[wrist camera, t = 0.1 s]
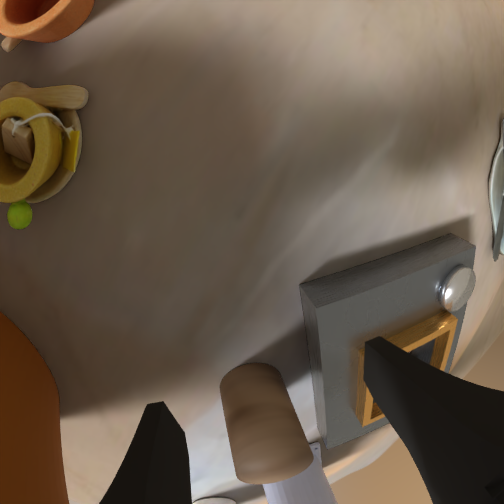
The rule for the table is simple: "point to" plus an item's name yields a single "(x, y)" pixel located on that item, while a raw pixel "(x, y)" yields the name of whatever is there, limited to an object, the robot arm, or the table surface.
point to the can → (215, 500)
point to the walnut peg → (262, 425)
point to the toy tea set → (38, 110)
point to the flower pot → (28, 424)
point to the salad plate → (497, 198)
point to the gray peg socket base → (382, 325)
